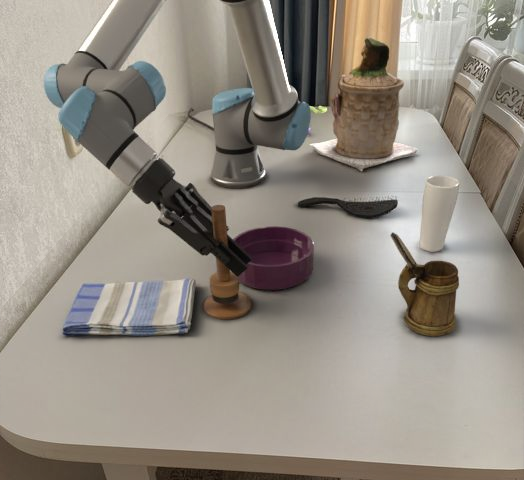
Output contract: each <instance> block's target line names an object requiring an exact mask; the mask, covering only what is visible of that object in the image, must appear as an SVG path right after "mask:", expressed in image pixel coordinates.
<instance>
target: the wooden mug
mask: <svg viewBox="0 0 524 480" xmlns="http://www.w3.org/2000/svg"><path fill="white" fill-rule="evenodd" d="M390 238H391V239H392V242H393V243H394V245H395V247H396V248H397V250H398V253H399V254H400V255H401V257H402V258H403V259H404V261H405V263H406V264H405V266H404V267H403V268H402V270H401V272H400V274H399V277H398V281H397V282H398V283H397V284H398V285H397V286H398V290H399V292H400V294H401V296H402V298H403V299H404V301H405V303H406V309H405V312H404V315H403V322H404V324H405V325H406V326H407V327H408V329H410V330H411V331H412V332H414V333H416V334H418V335H421V336H426V337H441V336H445V335H447V334H450V333H451V332H453V331H454V330H455V328H456V320H457V319H456V318H457V317H456V314H455V313H456V299H457V290H458V289H459V287H460V277H459V269H458V268H457V266H456V265H455V264H454V263H452V262H449V261H445V260H430V261H427V262H425V263H424V264H420V263H417V261H416V260H415V258H414V257H413V255H412V254H411V252H410V250H409V249H408V247H407V246H406V245H405V243H404V242H403V240H402V239H401V237H400V236H399V235H398V234H397V233H396V232H391V234H390ZM413 279H414V285H415V286H414V289H411V288H410V287H409V283H410V281H411V280H413Z"/></svg>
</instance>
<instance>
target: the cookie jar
mask: <svg viewBox="0 0 524 480" xmlns="http://www.w3.org/2000/svg"><path fill="white" fill-rule="evenodd" d="M364 44H365V45H364V46H363V48H362V50H361V53H360V55H361V56H362V59H361V62H360V64H359V65H358V66H356V67H355V68H353V69H352V70H351V71H349V73H347V75H345V74H342V75H341V76H340V77H339V80H338V83H337V88H338V90H339V93H336V94H335V95H334V97H331V98H330V101H329V106H330V108H331V113H332V116H333V119H334V120H333V124H332V125H333V127H332V128H333V129H332V131H333V134H334V135H335V137H336V138H333V139H330V140H326V141H322V142H315V143H310V144H309V146H310V147H312V148H313V149H314V150H315V152H317V153H318V154H319V155H321V156H324V157H326V158H329V159H332V160H335V161H337V162H340V163H342V164H345V165H347V166H350V167H352V168H355V169H357V170H358V171H360V172H363V171H364V169H367V168H369V167H374V166H379V165H381V164H385V163H388V162H391V161H395V160H399V159H403V158H408V157H409V158H410V157H414V156H416V154H417V152H418V148H417V147H414V146H410V145H407V144H402V143H400V142H396V141H395V140H396V138H397V133H398V129H399V126H400V120H399V118H400V117H399V116H400V91H401V90H402V89H403V88H404V86H405V81H403V79H401V78H398V77H395V76H394V75H392V74H391V73H389V72H388V71H387V67H388V63H389V60H390V47H389V46H388V45H387V44H386V43H385V42H381V41H380V40H377V39H375V38H372V37H366V38H365V39H364Z"/></svg>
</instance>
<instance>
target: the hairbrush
mask: <svg viewBox="0 0 524 480" xmlns="http://www.w3.org/2000/svg"><path fill="white" fill-rule="evenodd" d="M381 197H382V198H381V200H380V197H379V198H378V196H376V197H373V198H372V197H369V199H371V201H367V200H368V198H367V197H364V198H363V200H362V198H357V199H356V198H354V200H352V199H350V197H349V198H348V199H349V200H346V197H344V198H343V199H340V198H336V197H335V198H334V197H325V196H321V197H320V196H314V197H309V198H304V199H302V200H298V202H297V206H298V207H302V208H304V207H310V206H318V205H336V206H337V207H339V208H340V209H342V210H343V211H344V212H345V213H347V214H348V215H350V216H353V217H355V218H359V219H373V218H379V217H382V216H385V215H388V214H390V213H391V212H393V211H394V210H395V209H396V208H397V207H398V205H399V200H398V199H397V197H395V195H391V199H390V196H389V195H387V196H385V197H383V196H381ZM374 198H375V199H374ZM386 198H387V199H386ZM394 198H395V199H394ZM359 199H360V200H359Z"/></svg>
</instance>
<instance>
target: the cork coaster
mask: <svg viewBox="0 0 524 480" xmlns="http://www.w3.org/2000/svg"><path fill="white" fill-rule="evenodd" d="M238 295H239V296H238V299H237V300H236V301H234V302H232V303H228V304H220V303H217V302H215V301H214V300H213V298H212V295H210V296H208V297H207V298H206V299H205V301H204V304H203V308H204V312H205V313H206V314H207V315H208V316H209V317H211V318H214V319H217V320H223V321H224V320H225V321H226V320H235V319H238V318H241V317H243V316H245V315H246V314H247V313H248V312H250V310H251V307H252V302H251V299H250V298H249V296H248V295H246V294H244V293H242V292H240V291H239V292H238Z"/></svg>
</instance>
